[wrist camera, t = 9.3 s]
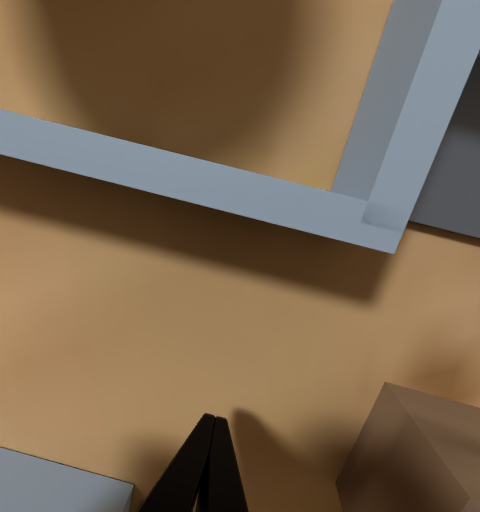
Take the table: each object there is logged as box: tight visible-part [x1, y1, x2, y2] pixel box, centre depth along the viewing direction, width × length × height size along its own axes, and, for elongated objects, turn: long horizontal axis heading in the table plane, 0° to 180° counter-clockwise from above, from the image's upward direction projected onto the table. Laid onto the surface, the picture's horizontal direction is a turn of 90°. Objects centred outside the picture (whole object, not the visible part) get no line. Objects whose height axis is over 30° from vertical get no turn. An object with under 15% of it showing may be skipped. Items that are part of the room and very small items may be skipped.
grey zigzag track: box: [0, 0, 480, 512], centre depth 8 cm, size 29×30×3 cm
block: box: [336, 382, 480, 512], centre depth 8 cm, size 6×6×4 cm
